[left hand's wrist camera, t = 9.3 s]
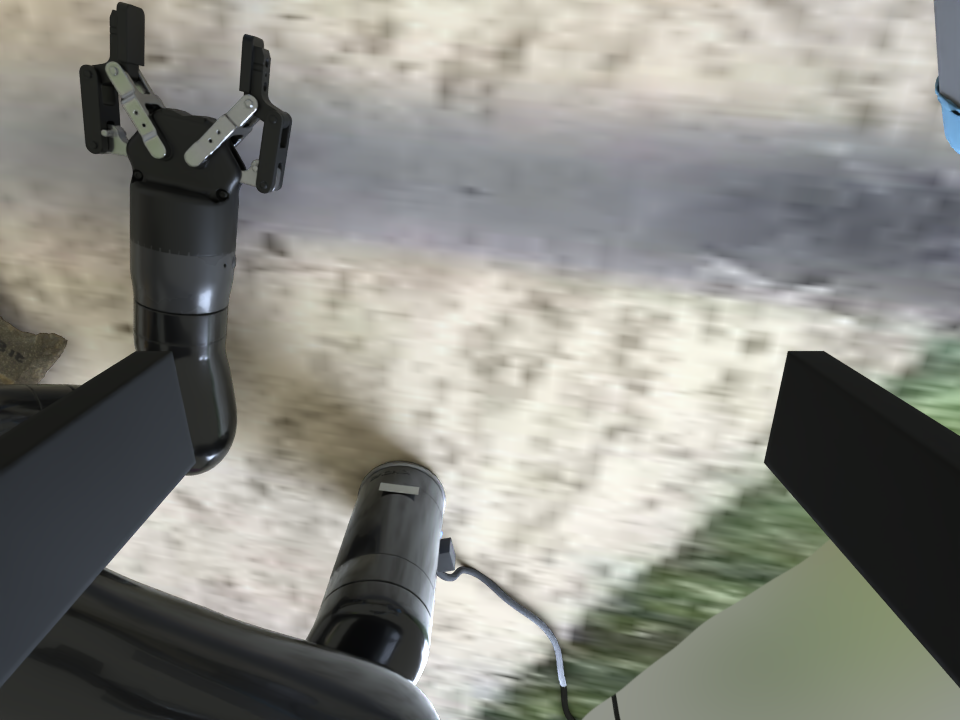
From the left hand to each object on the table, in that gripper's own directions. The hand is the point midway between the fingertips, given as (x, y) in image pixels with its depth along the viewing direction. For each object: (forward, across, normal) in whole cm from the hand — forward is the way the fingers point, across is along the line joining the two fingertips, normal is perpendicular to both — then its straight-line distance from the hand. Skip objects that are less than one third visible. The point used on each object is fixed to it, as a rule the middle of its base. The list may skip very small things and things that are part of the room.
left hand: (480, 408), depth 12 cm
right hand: (+35, +20, -13) cm, 42 cm away
